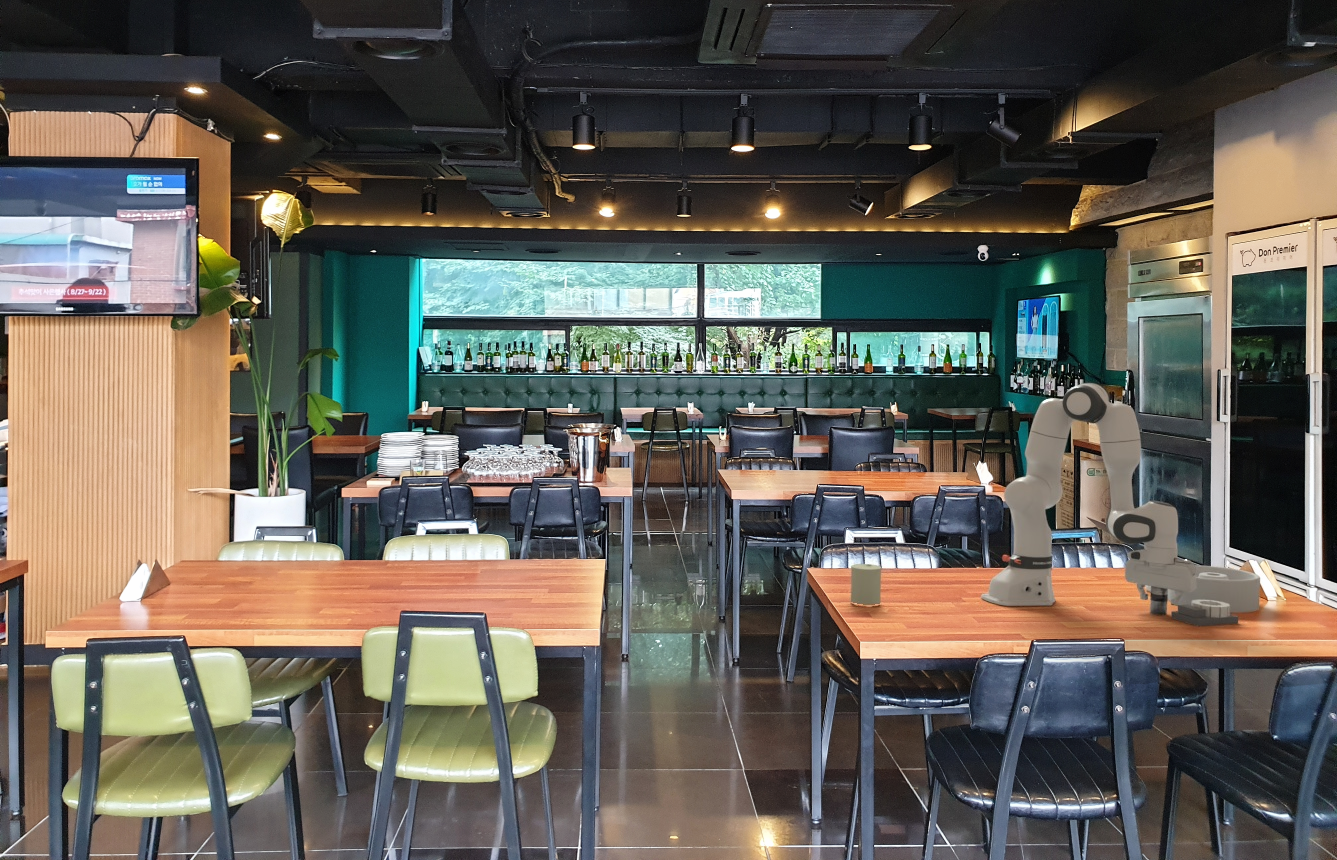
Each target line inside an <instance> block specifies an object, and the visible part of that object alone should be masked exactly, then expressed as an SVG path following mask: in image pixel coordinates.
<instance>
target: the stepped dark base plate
mask: <svg viewBox="0 0 1337 860" xmlns="http://www.w3.org/2000/svg"><path fill="white" fill-rule="evenodd" d="M1170 617H1171V619H1173V620H1175V621H1180V622H1182V623H1186V624H1189V625H1192V626H1196V627H1210V626H1221V625H1222V626H1223V625H1224V626H1225V625H1232V624H1233V625H1234V624H1235V625H1236V624H1239V616H1238V615H1235V614H1232V613H1230V605H1229V604H1228V603H1224V602H1219V601H1214V600H1211V601H1210V600H1193V601H1191V605H1178V606H1177V610H1173V611H1172V610H1171V613H1170Z"/></svg>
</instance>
